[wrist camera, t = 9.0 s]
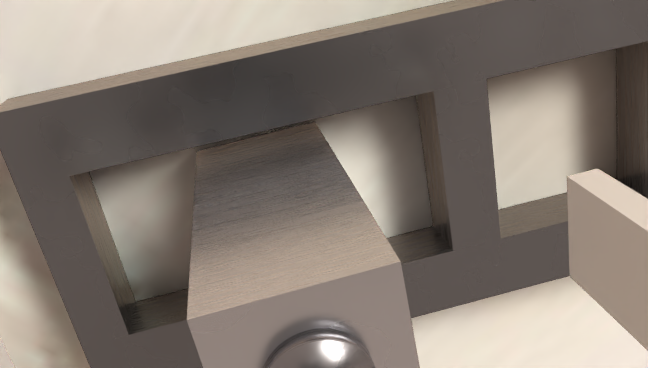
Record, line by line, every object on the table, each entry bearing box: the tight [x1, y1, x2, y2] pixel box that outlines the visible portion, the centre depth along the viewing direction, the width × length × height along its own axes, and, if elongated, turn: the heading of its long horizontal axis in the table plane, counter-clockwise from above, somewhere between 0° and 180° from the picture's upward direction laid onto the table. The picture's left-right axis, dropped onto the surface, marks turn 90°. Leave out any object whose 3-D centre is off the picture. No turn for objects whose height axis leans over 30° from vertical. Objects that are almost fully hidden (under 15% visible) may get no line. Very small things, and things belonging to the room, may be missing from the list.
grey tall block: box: [187, 122, 420, 368], centre depth 16 cm, size 4×4×10 cm
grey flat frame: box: [0, 0, 648, 368], centre depth 21 cm, size 10×22×2 cm, turn 101°
